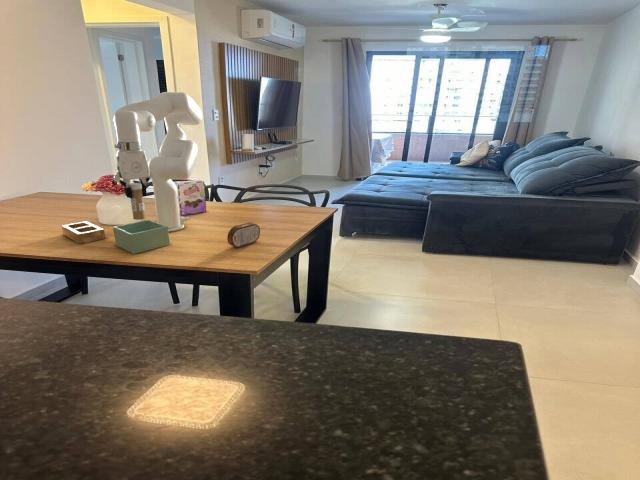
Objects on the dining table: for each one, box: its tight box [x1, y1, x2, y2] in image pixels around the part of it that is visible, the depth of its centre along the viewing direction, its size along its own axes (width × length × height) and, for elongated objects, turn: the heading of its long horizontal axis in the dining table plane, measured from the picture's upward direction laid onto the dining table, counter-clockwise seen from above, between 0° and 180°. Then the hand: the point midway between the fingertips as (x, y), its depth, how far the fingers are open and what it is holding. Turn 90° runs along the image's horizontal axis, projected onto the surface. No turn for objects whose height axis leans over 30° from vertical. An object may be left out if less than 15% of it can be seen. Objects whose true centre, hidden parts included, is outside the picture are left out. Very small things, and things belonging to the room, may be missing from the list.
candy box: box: [173, 179, 207, 217], centre depth 194 cm, size 14×6×16 cm, turn 129°
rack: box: [61, 220, 106, 245], centre depth 156 cm, size 10×18×4 cm, turn 51°
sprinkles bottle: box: [129, 182, 147, 221], centre depth 144 cm, size 5×5×13 cm
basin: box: [112, 219, 171, 255], centre depth 148 cm, size 14×14×8 cm
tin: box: [226, 221, 261, 248], centre depth 151 cm, size 15×3×8 cm, turn 141°
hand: (136, 196), depth 143 cm, fingers closed on sprinkles bottle, 4 cm apart
